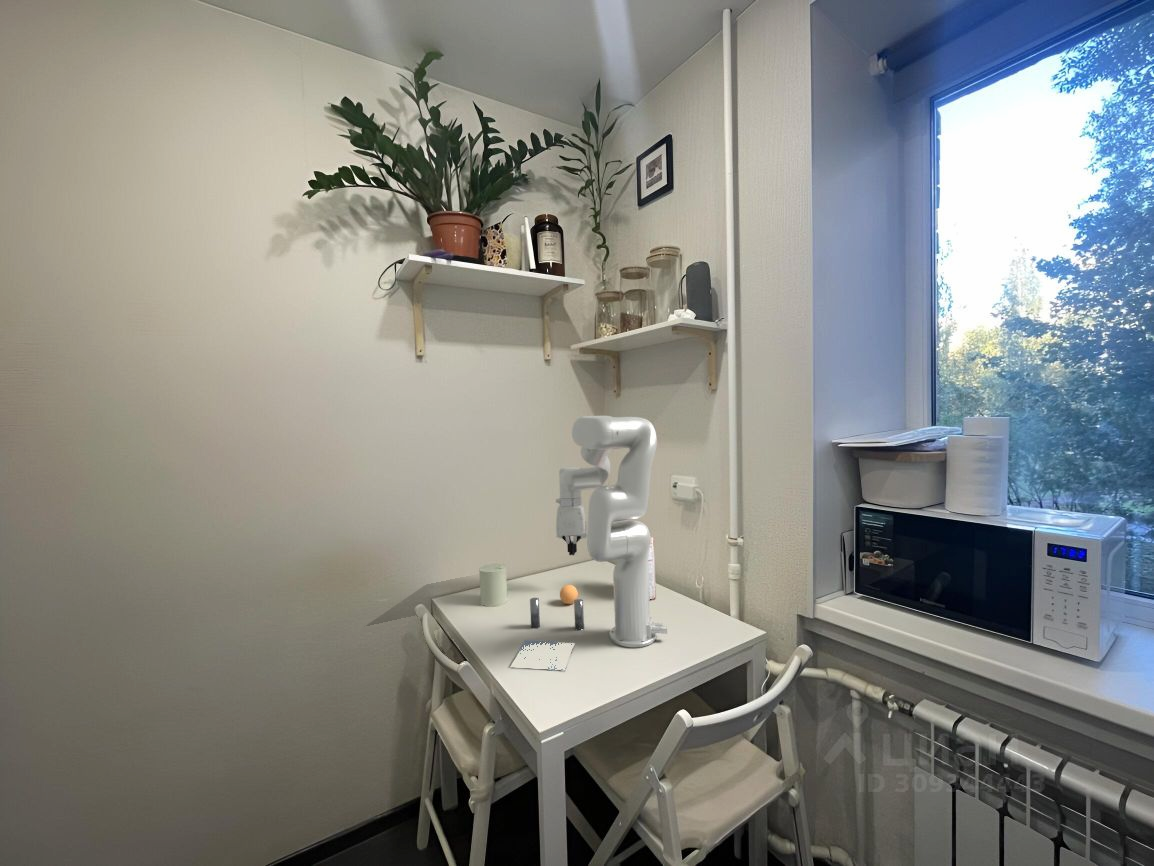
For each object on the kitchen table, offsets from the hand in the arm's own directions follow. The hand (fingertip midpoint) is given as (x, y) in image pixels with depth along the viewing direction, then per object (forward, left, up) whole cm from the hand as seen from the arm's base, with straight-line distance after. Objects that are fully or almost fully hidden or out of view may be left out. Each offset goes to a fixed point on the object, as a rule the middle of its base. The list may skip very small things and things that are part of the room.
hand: (572, 554), depth 159 cm
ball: (0, +10, -11) cm, 15 cm away
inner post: (-7, +28, -14) cm, 32 cm away
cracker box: (-22, 0, -14) cm, 26 cm away
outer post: (+6, +28, -14) cm, 32 cm away
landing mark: (0, +44, -14) cm, 46 cm away
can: (+26, +10, -14) cm, 31 cm away
